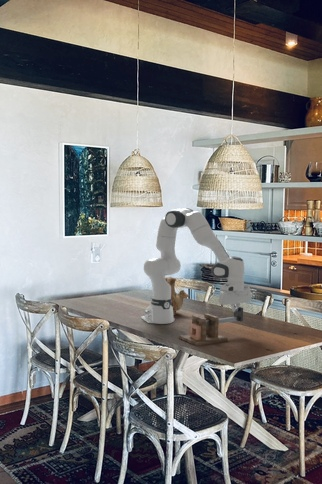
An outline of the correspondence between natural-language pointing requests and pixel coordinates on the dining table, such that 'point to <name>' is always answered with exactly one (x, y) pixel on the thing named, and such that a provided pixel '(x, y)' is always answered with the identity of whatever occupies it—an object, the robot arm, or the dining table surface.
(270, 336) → the dining table surface
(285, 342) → the dining table surface
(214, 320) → the stand
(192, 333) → the spacer
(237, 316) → the shaft
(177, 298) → the tan plush toy
